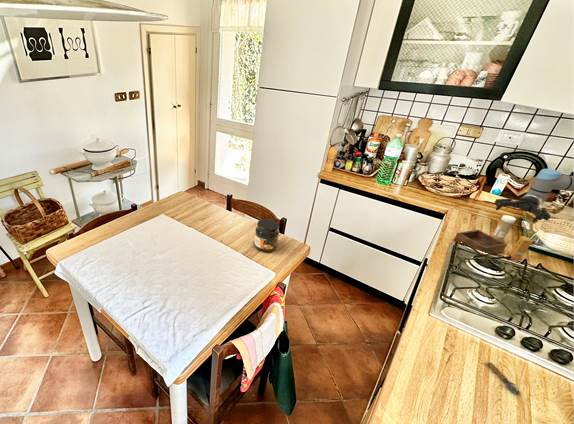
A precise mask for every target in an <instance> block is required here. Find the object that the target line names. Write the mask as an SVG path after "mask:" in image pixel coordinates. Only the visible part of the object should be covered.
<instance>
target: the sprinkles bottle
mask: <svg viewBox="0 0 574 424" xmlns="http://www.w3.org/2000/svg"><path fill="white" fill-rule="evenodd" d="M516 220H517V218H516V217H514V216H512V215H508V214H504V215H502V217H501V219H500V221H499V223H498V225H497V226H496V228H495V230H494V231H493V233H492V235H491V236H492V237H494V238H496V239H498V240H500V241H501V242H504V240H505V238H506V237H507V235H508V234H509V232H510V230H511V228H512V227H513V225H514V223H516Z"/></svg>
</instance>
